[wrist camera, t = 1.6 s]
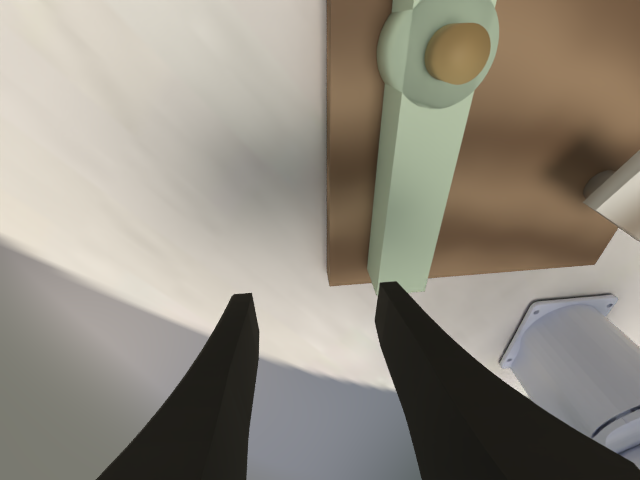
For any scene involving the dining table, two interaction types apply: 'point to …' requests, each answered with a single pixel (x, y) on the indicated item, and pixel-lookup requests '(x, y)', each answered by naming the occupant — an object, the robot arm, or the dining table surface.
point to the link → (418, 137)
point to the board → (499, 135)
